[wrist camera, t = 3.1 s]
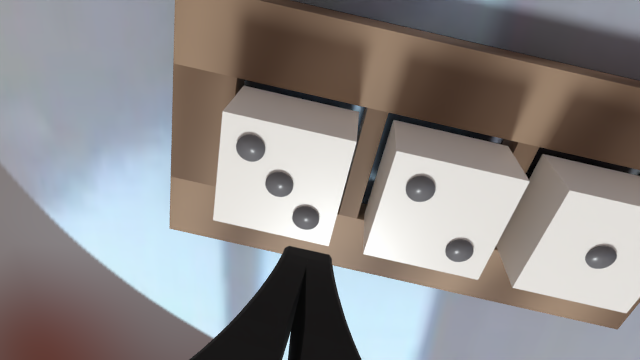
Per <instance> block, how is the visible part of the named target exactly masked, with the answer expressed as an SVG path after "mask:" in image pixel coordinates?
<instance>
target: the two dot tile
mask: <svg viewBox="0 0 640 360" xmlns="http://www.w3.org/2000/svg"><path fill="white" fill-rule="evenodd" d="M529 182H530V181H529V179H528V177H527V176H526V174H525V173H524V171H523V169H522V168H521V166H520V164H519V163H518V161H517V160H516V158H515V156H514V155H513V153H512V151H511V150H510V148H509V147H508V146H506V145H502V144H497V143H493V142H489V141H484V140H480V139H476V138H471V137H467V136H462V135H458V134H454V133H449V132H445V131H441V130H436V129H432V128H427V127H423V126H419V125H414V124H410V123H406V122H401V121H397V120H393V123H392V126H391V130H390V133H389V136H388V139H387V142H386V146H385V149H384V152H383V155H382V159H381V162H380V165H379V168H378V172H377V175H376V178H375V181H374V185H373V188H372V191H371V194H370V198H369V201H368V204H367V207H366V210H365V214H364V243H363V254H365V255H370V256H374V257H379V258H383V259H387V260H392V261H396V262H401V263H405V264H410V265H414V266H418V267H423V268H427V269H432V270H436V271H441V272H445V273H449V274H454V275H458V276H463V277H467V278H472V279H476V280H478V279H479V277H480V275H481V273H482V271H483V270H484V268H485V266H486V264H487V262H488V260H489V258H490V256H491V254H492V252H493V251H494V249H495V247H496V245H497V243H498V241H499V239H500V237H501V235H502V233H503V231H504V230H505V228H506V226H507V224H508V222H509V220H510V218H511V216H512V214H513V212H514V211H515V209H516V207H517V205H518V203H519V201H520V199H521V197H522V195H523V193H524V192H525V190H526V188H527V186H528V184H529Z"/></svg>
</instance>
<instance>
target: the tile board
mask: <svg viewBox="0 0 640 360" xmlns="http://www.w3.org/2000/svg"><path fill="white" fill-rule="evenodd" d="M245 80H249V81H253V82H257V83H262V84H266V85H270V86H275V87H279V88H283V89H288V90H292V91H297V92H301V93H305V94H310V95H314V96H318V97H323V98H327V99H332V100H336V101H340V102H345V103H349V104H353V105H358V106H362V107H365V109H364V113H363V117H362V120H361V124H360V128H359V132H358V135H357V142H356V146H355V150H354V154H353V157H352V161H351V165H350V168H349V172H348V176H347V180H346V183H345V187H344V191H343V195H342V198H341V202H340V206H339V209H338V213H337V217H336V221H335V224H334V228H333V232H332V235H331V239H330V243H329V246H325V245H321V244H317V243H312V242H308V241H303V240H299V239H294V238H290V237H286V236H281V235H277V234H272V233H268V232H263V231H259V230H255V229H250V228H246V227H241V226H237V225H232V224H228V223H224V222H219V221H215V220H213V215H214V204H215V192H216V181H217V169H218V158H219V147H220V135H221V124H222V113H223V110H224V109H225V108H226V107H227V105H228V104H229V103H230V102H231V100H232V99H233V98H234V97H235V96H236V94H237V93H238V92H239V91H240V89H241V88H242V87H243V86H244V81H245ZM388 113H393V114H397V115H402V116H406V117H410V118H415V119H419V120H423V121H428V122H432V123H437V124H441V125H445V126H450V127H454V128H458V129H463V130H467V131H472V132H476V133H480V134H485V135H489V136H493V137H498V138H502V139H504V140H503V142H502V145H506V146H508V147H509V148H510V150H511V151H512V153H513V155H514V156H515V158H516V160H517V161H518V163H519V164H520V166H521V168H522V169H523V171H524V173H525V174H526V172H527V170H528V168H529V166H530V165H531V163H532V161H533V159H534V157H535V155H536V153H537V151H538V149H539V147H542V148H546V149H550V150H555V151H559V152H563V153H568V154H572V155H577V156H581V157H585V158H590V159H594V160H598V161H603V162H607V163H612V164H616V165H620V166H625V167H629V168H633V169H638V170H640V81H638V80H634V79H629V78H625V77H621V76H616V75H612V74H608V73H603V72H599V71H595V70H590V69H586V68H582V67H577V66H573V65H569V64H564V63H560V62H556V61H551V60H547V59H543V58H538V57H534V56H530V55H525V54H521V53H517V52H512V51H508V50H504V49H499V48H495V47H491V46H486V45H482V44H478V43H473V42H469V41H465V40H460V39H456V38H452V37H447V36H443V35H438V34H434V33H430V32H425V31H421V30H417V29H412V28H408V27H404V26H399V25H395V24H391V23H386V22H382V21H378V20H373V19H369V18H365V17H360V16H356V15H352V14H347V13H343V12H339V11H334V10H330V9H326V8H321V7H317V6H313V5H308V4H304V3H300V2H295V1H291V0H175V24H174V66H173V107H172V149H171V191H170V229H174V230H179V231H183V232H188V233H192V234H197V235H201V236H205V237H210V238H214V239H219V240H223V241H228V242H232V243H237V244H241V245H245V246H250V247H254V248H259V249H263V250H268V251H272V252H276V253H281V254H283V251H284V249H285V248H286V247H288V246H293V247H297V248H302V249H306V250H311V251H315V252H320V253H324V254H329V255H330V256H331V258H332V265H334V266H339V267H343V268H347V269H352V270H356V271H361V272H365V273H370V274H374V275H378V276H383V277H387V278H392V279H396V280H401V281H405V282H410V283H414V284H418V285H423V286H427V287H432V288H436V289H441V290H445V291H449V292H454V293H458V294H463V295H467V296H472V297H476V298H481V299H485V300H489V301H494V302H498V303H503V304H507V305H512V306H516V307H520V308H525V309H529V310H534V311H538V312H543V313H547V314H552V315H556V316H560V317H565V318H569V319H574V320H578V321H583V322H587V323H591V324H596V325H600V326H605V327H609V328H614V329H618V328H619V327H620V326H621V325H622V323H623V322H624V321H625V320H626V318H627V317H628V316H629V315H630V314H631V312H632V311H633V310H634V309H635V307H636V306H637V305H638V304H639V303H640V298H639V299H638V300H637V301H636V302H635V304H634V305H633V306H632V307H631V309H630V310H629V311H628V312H627V313H622V312H618V311H613V310H609V309H605V308H600V307H596V306H591V305H587V304H582V303H578V302H573V301H569V300H565V299H560V298H556V297H551V296H547V295H542V294H538V293H534V292H529V291H525V290H520V289H516V288H512V285H511V283H510V280H509V278H508V275H507V272H506V270H505V267H504V265H503V262H502V259H501V257H500V254H499V252H498V249H497V246H496V247H495V249H494V251H493V252H492V254H491V256H490V258H489V260H488V262H487V264H486V266H485V268H484V270H483V271H482V273H481V275H480V277H479V279H478V280H476V279H472V278H467V277H463V276H458V275H454V274H449V273H445V272H441V271H436V270H432V269H427V268H423V267H418V266H414V265H410V264H405V263H401V262H396V261H392V260H387V259H383V258H379V257H374V256H370V255H365V254H363V243H364V214H365V210H366V207H367V204H365V203H362V200H363V196H364V193H365V190H366V186H367V183H368V180H369V176H370V173H371V170H372V166H373V163H374V160H375V156H376V153H377V150H378V146H379V143H380V140H381V136H382V133H383V130H384V126H385V123H386V120H387V116H388ZM639 176H640V175H639Z"/></svg>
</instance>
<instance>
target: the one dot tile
mask: <svg viewBox="0 0 640 360" xmlns="http://www.w3.org/2000/svg"><path fill="white" fill-rule="evenodd" d="M529 181H530V182H529V184H528V186H527V188H526V190H525V192H524V193H523V195H522V197H521V199H520V201H519V203H518V205H517V207H516V209H515V211H514V212H513V214H512V216H511V218H510V220H509V222H508V224H507V226H506V228H505V230H504V231H503V233H502V235H501V237H500V239H499V241H498V243H497V245H496V246H497V249H498V252H499V254H500V257H501V259H502V262H503V265H504V267H505V270H506V272H507V275H508V278H509V280H510V283H511V285H512V288H516V289H520V290H525V291H529V292H534V293H538V294H542V295H547V296H551V297H556V298H560V299H565V300H569V301H573V302H578V303H582V304H587V305H591V306H596V307H600V308H605V309H609V310H613V311H618V312H622V313H627V312H628V311H629V310H630V309H631V307H632V306H633V305H634V304H635V302H636V301H637V300H638V299H639V298H640V176H638V175H633V174H629V173H624V172H620V171H616V170H611V169H607V168H603V167H598V166H594V165H589V164H585V163H581V162H576V161H572V160H568V159H563V158H559V157H554V156H550V155H546V154H542V156H541V157H540V159H539V161H538V163H537V165H536V167H535V169H534V171H533V173H532V175H531V177H530V178H529Z"/></svg>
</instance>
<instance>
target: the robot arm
mask: <svg viewBox="0 0 640 360" xmlns="http://www.w3.org/2000/svg"><path fill="white" fill-rule="evenodd" d="M290 332H291V335H290ZM289 335H290V345H289V355H288V360H361V358H360V355H359V353H358V351H357V348H356V346H355V343H354V341H353V338H352V336H351V333H350V330H349V328H348V325H347V322H346V319H345V316H344V313H343V309H342V306H341V303H340V299H339V296H338V292H337V288H336V283H335V278H334V273H333V266H332V258H331V256H330V255H329V254H324V253H320V252H315V251H311V250H306V249H302V248H297V247H293V246H288V247H286V248H285V249H284V251H283V254H282V256H281V258H280V259H279V261H278V263H277V265H276V266H275V268H274V269H273V271H272V272H271V274H270V275H269V277H268V278H267V280H266V281H265V282H264V284H263V285H262V286H261V288H260V289H259V290H258V292H257V293H256V294H255V295H254V297H253V298H252V299H251V300H250V301H249V303H248V304H247V305H246V306H245V307H244V308H243V310H242V311H241V312H240V313H239V314H238V315H237V316H236V317H235V318H234V319H233V320H232V321H231V322H230V324H229V325H228V326H227V327H225V328H224V329H223V330H222V331H221V332H220V333H219V334H218V335H217V336H216V337H215V338H214V339H213V340H212V341H211V342H210V343H208V344H207V345H206V346H205V347H204V348H203V349H202V350H201V351H200V352H198V353H197V354H196V355H195V356H193V357H192V358H191V359H190V360H282V358H283V355H284V351H285V348H286V345H287V342H288V338H289Z"/></svg>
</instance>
